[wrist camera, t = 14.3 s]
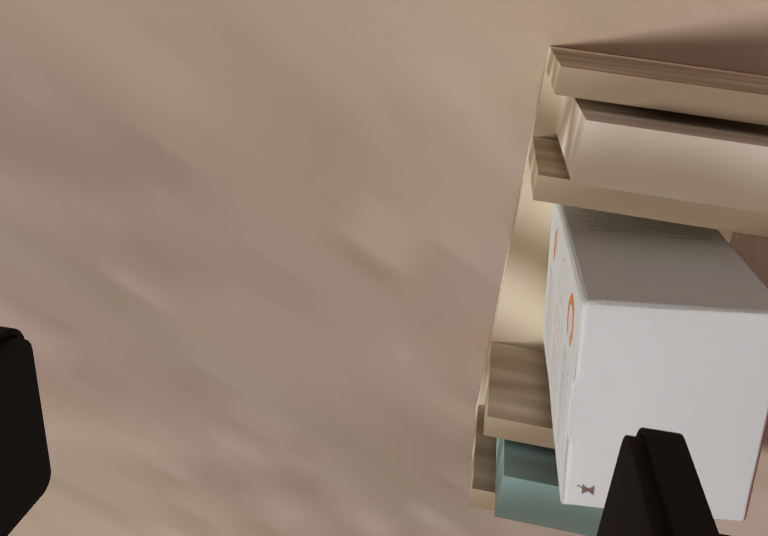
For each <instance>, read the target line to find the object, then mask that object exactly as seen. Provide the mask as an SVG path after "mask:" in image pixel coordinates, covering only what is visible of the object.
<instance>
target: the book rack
mask: <svg viewBox="0 0 768 536" xmlns="http://www.w3.org/2000/svg"><path fill="white" fill-rule="evenodd" d="M553 203H555V204H561V205H567V206H574V207H580V208H586V209H592V210H598V211H605V212H611V213H617V214H623V215H630V216H636V217H642V218H648V219H654V220H661V221H667V222H673V223H679V224H685V225H692V226H698V227H704V228H710V229H717V230H718V231H719V232H720V233H721V234H722V236H723V237H724V238H725V239H726V240H727V241H728V243H730V240H731V237H732V234H733V232H735V233H741V234H748V235H754V236H760V237H766V238H768V76H764V75H757V74H749V73H742V72H735V71H728V70H720V69H713V68H706V67H699V66H692V65H684V64H677V63H670V62H663V61H655V60H648V59H641V58H634V57H626V56H619V55H612V54H605V53H597V52H590V51H583V50H576V49H568V48H561V47H554V46H549V50H548V55H547V60H546V65H545V70H544V75H543V80H542V85H541V89H540V94H539V99H538V104H537V109H536V114H535V119H534V124H533V129H532V134H531V139H530V144H529V149H528V154H527V159H526V164H525V168H524V173H523V178H522V183H521V188H520V193H519V198H518V203H517V208H516V213H515V218H514V223H513V228H512V233H511V238H510V243H509V248H508V252H507V257H506V262H505V267H504V272H503V277H502V282H501V287H500V292H499V297H498V302H497V307H496V312H495V317H494V322H493V327H492V332H491V336H490V341H489V346H488V351H487V356H486V361H485V366H484V371H483V376H482V381H481V386H480V391H479V396H478V401H477V406H476V415H475V428H474V441H473V454H472V467H471V480H470V493H469V505H470V506H475V507H480V508H484V509H489V510H494V511H495V515H494V516H496V517H501V518H505V519H510V520H515V521H520V522H525V523H529V524H534V525H539V526H544V527H549V528H554V529H558V530H563V531H568V532H573V533H578V534H582V535H587V536H596V535H597V532H598V528H599V524H600V521H601V517H602V513H603V510H604V508H596V507H588V506H580V505H570V504H562V503H561V500H560V491H559V481H558V472H557V463H556V452H555V443H554V434H553V424H552V413H551V400H550V389H549V379H548V371H547V364H546V356H545V348H544V340H543V325H544V310H545V297H546V284H547V271H548V259H549V246H550V234H551V223H552V212H553Z"/></svg>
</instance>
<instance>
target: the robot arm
mask: <svg viewBox="0 0 768 536" xmlns="http://www.w3.org/2000/svg"><path fill="white" fill-rule="evenodd" d="M50 476H51V467H50V461H49V454H48V448H47V441H46V435H45V428H44V422H43V415H42V409H41V402H40V395H39V389H38V382H37V376H36V369H35V363H34V356H33V350H32V346H31V344H30V342H29V341H27V340H25V339H24V336H23V334H22V333H21V332H20V331H19V330H17V329H14V328H7V327H1V326H0V536H8V534H9V533H10V532H11V531H12V530H13V529H14V527H15V526H16V525H17V524H18V523H19V522H20V520H21V519H22V518H23V517H24V516H25V515H26V513H27V512H28V511H29V510H30V509H31V508H32V506H33V505H34V504H35V503H36V502H37V501H38V499H39V498H40V497H41V496H42V495H43V493H44V492H45V490H46V488H47V486H48V484H49V481H50ZM596 536H729V535H723V534H719V533H718V530H717V527H716V524H715V521H714V519H713V516H712V513H711V510H710V507H709V505H708V502H707V499H706V496H705V494H704V491H703V488H702V485H701V482H700V480H699V477H698V474H697V471H696V468H695V466H694V463H693V460H692V457H691V455H690V452H689V449H688V446H687V443H686V441H685V438H684V437H683V435H682V434H680V433H675V432H669V431H662V430H656V429H650V428H643V427H642V428H640V429H639V431H638V432H637V435H636V436H630V435H625V436H624V438H623V440H622V443H621V447H620V450H619V454H618V458H617V462H616V465H615V469H614V473H613V476H612V480H611V484H610V487H609V491H608V495H607V498H606V502H605V506H604V510H603V513H602V517H601V521H600V524H599V528H598V532H597V535H596Z"/></svg>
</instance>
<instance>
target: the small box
mask: <svg viewBox="0 0 768 536" xmlns="http://www.w3.org/2000/svg"><path fill="white" fill-rule="evenodd" d="M543 340H544V348H545V356H546V364H547V371H548V379H549V389H550V400H551V413H552V424H553V434H554V443H555V452H556V463H557V472H558V481H559V491H560V500H561V503H562V504H570V505H580V506H588V507H596V508H604V506H605V502H606V498H607V495H608V491H609V487H610V484H611V480H612V476H613V473H614V469H615V465H616V462H617V458H618V454H619V450H620V447H621V443H622V440H623V438H624V436H625V435H630V436H636V435H637V432H638V431H639V429H640V428H642V427H643V428H650V429H656V430H662V431H669V432H675V433H680V434H682V435H683V437H684V438H685V441H686V443H687V446H688V449H689V452H690V455H691V457H692V460H693V463H694V466H695V468H696V471H697V474H698V477H699V480H700V482H701V485H702V488H703V491H704V494H705V496H706V499H707V502H708V505H709V507H710V510H711V513H712V516H713V518H714V519H728V520H737V521H743V520H745V518H746V515H747V511H748V506H749V502H750V498H751V493H752V488H753V484H754V479H755V475H756V471H757V466H758V462H759V457H760V453H761V449H762V444H763V439H764V434H765V430H766V426H767V422H768V288H767V287H766V286H765V284H764V283H763V282H762V281H761V280H760V279H759V277H758V276H757V275H756V274H755V273H754V272H753V271H752V270H751V268H750V267H749V266H748V265H747V264H746V262H745V261H744V260H743V259H742V258H741V256H740V255H739V254H738V253H737V252H736V251H735V250H734V248H733V247H732V246H731V245H730V244H729V243H728V241H727V240H726V239H725V238H724V237H723V236H722V234H721V233H720V232H719V231H718V230H717V229H710V228H704V227H698V226H692V225H685V224H679V223H673V222H667V221H661V220H654V219H648V218H642V217H636V216H630V215H623V214H617V213H611V212H605V211H598V210H592V209H586V208H580V207H574V206H567V205H561V204H555V203H553V212H552V223H551V234H550V246H549V259H548V271H547V284H546V297H545V310H544V325H543Z"/></svg>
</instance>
